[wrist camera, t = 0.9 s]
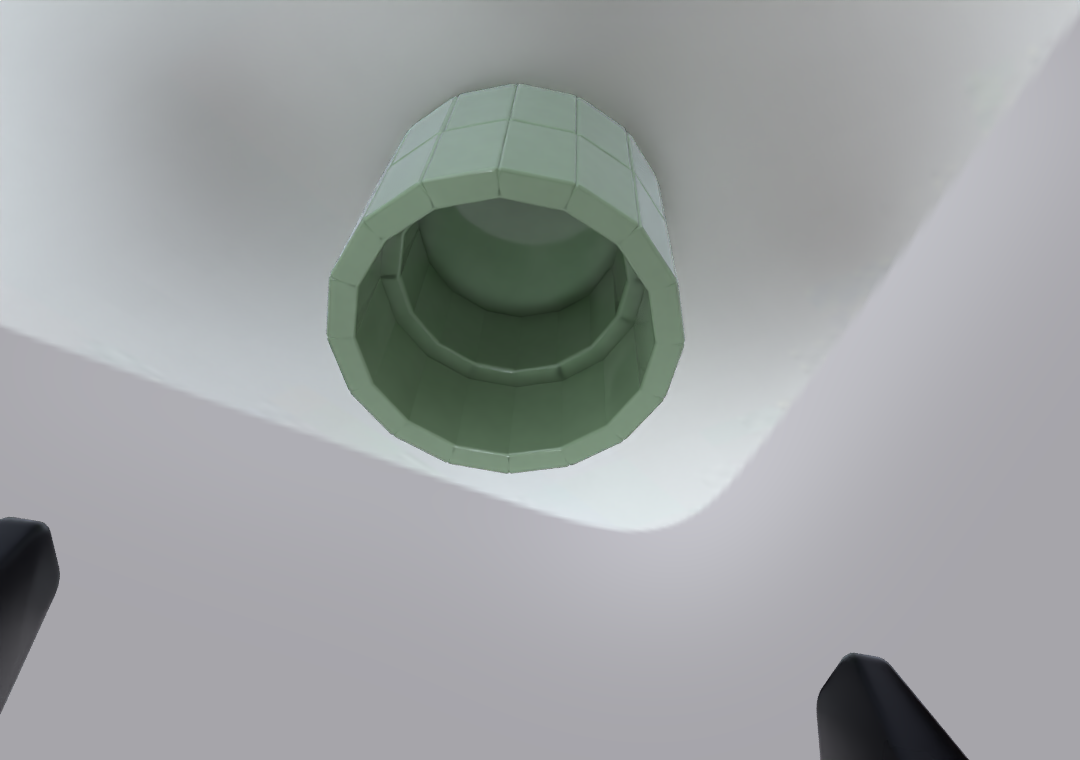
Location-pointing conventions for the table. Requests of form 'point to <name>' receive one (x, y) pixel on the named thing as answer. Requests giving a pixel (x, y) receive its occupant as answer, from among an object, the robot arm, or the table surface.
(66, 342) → the table surface
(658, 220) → the cup
